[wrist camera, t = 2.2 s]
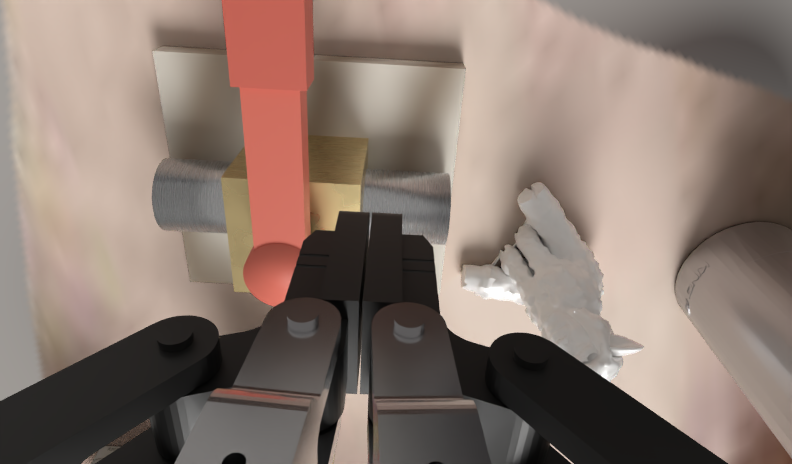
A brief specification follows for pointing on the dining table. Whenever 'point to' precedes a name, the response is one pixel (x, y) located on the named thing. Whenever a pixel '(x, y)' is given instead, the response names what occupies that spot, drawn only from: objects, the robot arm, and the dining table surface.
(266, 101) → the valve lever
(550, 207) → the sitting furry creature
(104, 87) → the dining table surface
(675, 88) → the dining table surface
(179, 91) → the mounting board
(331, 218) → the valve body
